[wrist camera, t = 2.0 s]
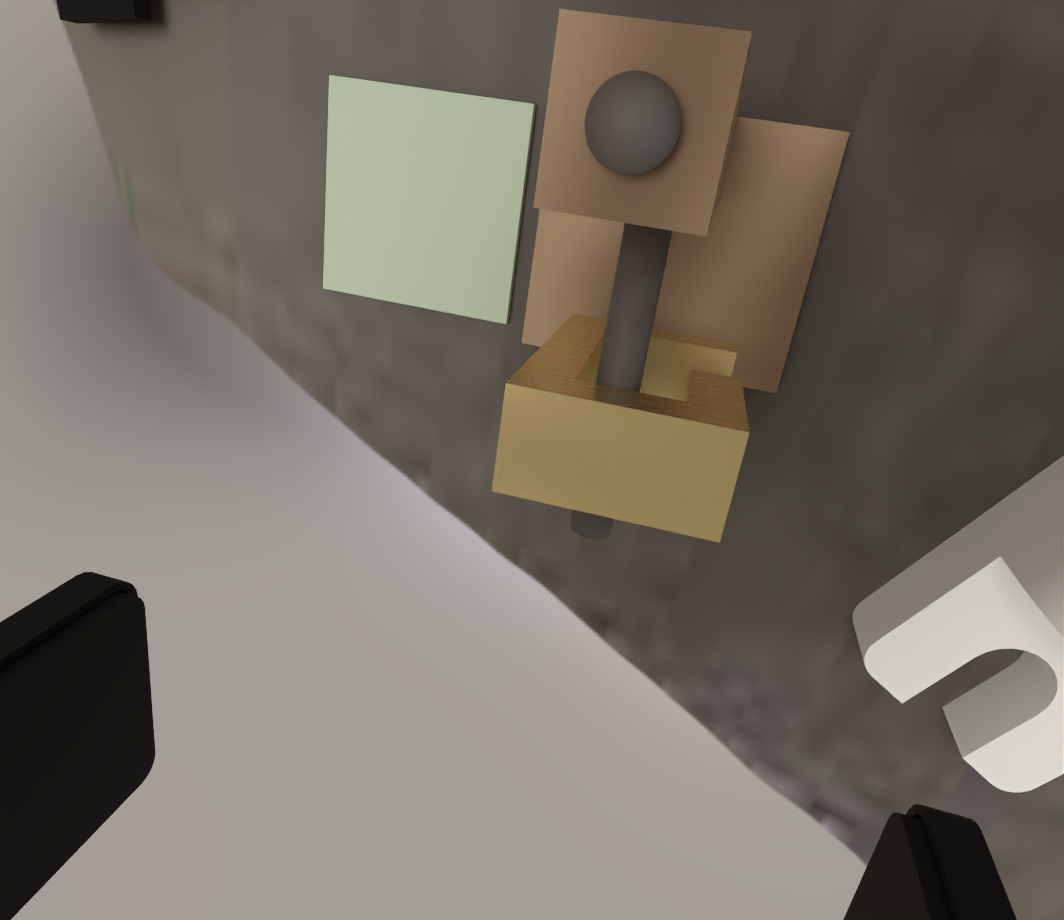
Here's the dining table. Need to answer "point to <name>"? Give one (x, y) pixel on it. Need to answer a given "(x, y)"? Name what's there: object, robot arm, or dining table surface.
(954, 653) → the white slotted holder
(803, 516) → the dining table surface
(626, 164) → the stand
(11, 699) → the robot arm
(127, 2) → the toy sword
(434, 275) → the pad
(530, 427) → the c link
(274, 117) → the dining table surface
